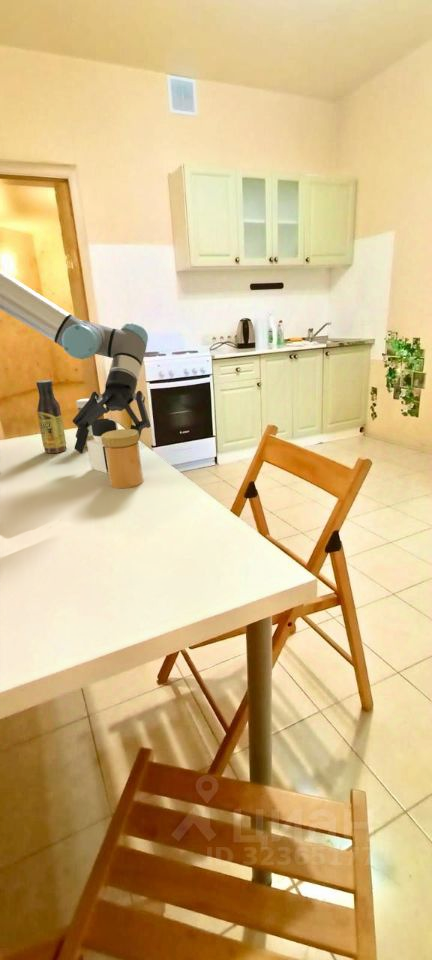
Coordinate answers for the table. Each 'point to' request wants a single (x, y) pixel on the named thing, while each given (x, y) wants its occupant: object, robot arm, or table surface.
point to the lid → (120, 437)
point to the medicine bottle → (100, 443)
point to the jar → (124, 466)
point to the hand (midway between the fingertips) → (103, 451)
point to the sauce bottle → (50, 419)
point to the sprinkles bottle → (80, 405)
